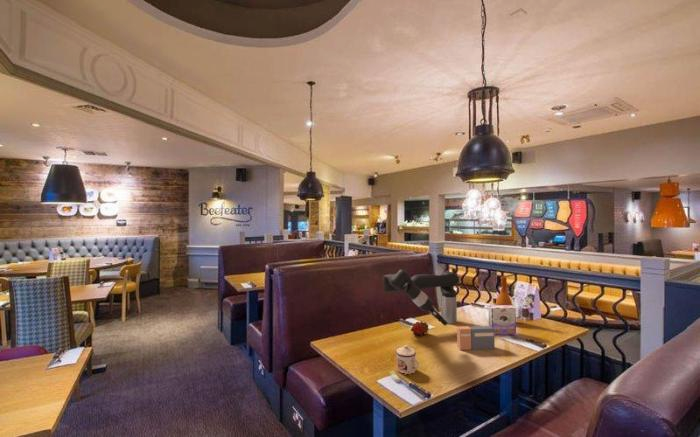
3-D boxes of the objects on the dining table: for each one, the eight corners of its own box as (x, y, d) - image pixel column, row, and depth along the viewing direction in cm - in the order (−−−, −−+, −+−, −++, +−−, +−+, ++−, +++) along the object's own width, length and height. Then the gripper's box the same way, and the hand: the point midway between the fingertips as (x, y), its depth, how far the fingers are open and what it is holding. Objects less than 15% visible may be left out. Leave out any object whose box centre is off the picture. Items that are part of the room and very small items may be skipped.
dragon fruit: (430, 336, 195) (412, 341, 192) (423, 324, 201) (406, 329, 198) (433, 328, 189) (415, 333, 186) (426, 316, 196) (408, 321, 192)
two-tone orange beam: (460, 349, 171) (459, 329, 171) (457, 346, 175) (457, 326, 175) (471, 349, 171) (471, 329, 171) (468, 346, 175) (468, 326, 175)
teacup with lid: (392, 369, 152) (391, 345, 152) (405, 363, 158) (405, 340, 157) (411, 379, 143) (411, 353, 142) (425, 373, 148) (424, 348, 148)
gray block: (471, 349, 171) (471, 329, 171) (468, 346, 175) (468, 326, 175) (494, 349, 172) (494, 328, 171) (491, 345, 176) (490, 325, 175)
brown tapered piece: (515, 324, 207) (515, 277, 206) (500, 324, 207) (499, 278, 206) (508, 319, 216) (507, 274, 216) (493, 319, 217) (492, 275, 216)
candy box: (512, 331, 195) (512, 304, 194) (516, 335, 189) (516, 307, 189) (488, 331, 196) (488, 304, 196) (491, 335, 190) (491, 307, 190)
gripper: (414, 301, 179) (435, 322, 180) (420, 309, 165) (443, 331, 165) (423, 292, 179) (444, 312, 180) (430, 299, 165) (453, 321, 165)
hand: (443, 321), depth 172 cm, fingers open, 8 cm apart
